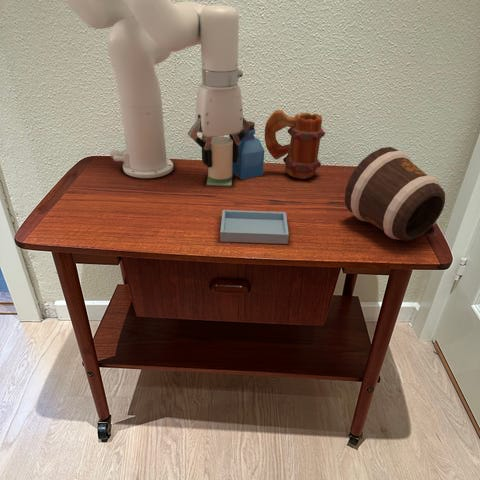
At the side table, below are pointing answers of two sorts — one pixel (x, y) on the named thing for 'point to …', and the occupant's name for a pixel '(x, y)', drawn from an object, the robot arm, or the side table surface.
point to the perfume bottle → (249, 156)
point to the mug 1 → (296, 142)
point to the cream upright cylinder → (221, 158)
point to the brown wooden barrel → (394, 194)
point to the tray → (254, 227)
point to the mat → (219, 182)
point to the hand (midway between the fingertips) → (220, 162)
